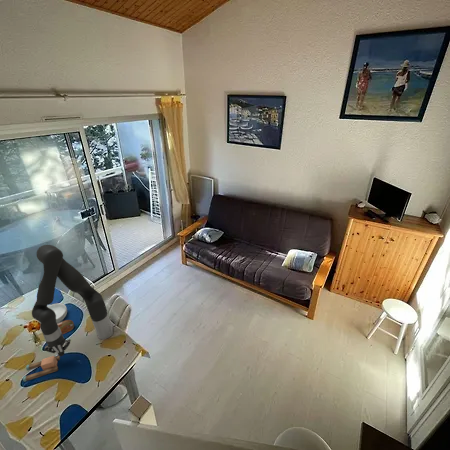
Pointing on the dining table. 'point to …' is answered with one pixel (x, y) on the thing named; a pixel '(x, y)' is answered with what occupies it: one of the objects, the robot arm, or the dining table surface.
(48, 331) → the robot arm
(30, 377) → the pair of brown rods
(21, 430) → the dining table surface
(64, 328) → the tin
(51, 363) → the block
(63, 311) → the cereal bowl
